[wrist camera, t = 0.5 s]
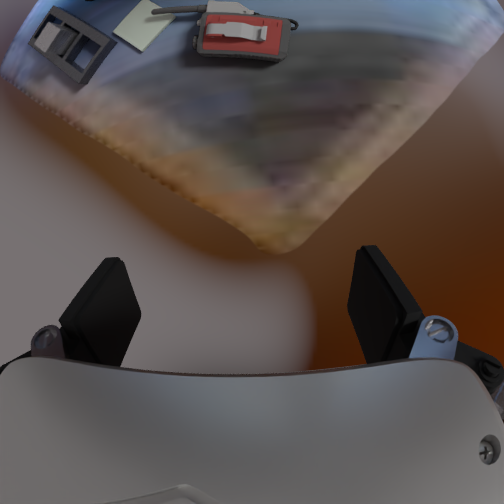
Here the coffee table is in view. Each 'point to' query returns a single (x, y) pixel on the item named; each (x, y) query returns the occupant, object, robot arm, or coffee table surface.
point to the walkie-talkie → (237, 31)
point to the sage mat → (143, 25)
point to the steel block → (56, 38)
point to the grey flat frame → (75, 45)
